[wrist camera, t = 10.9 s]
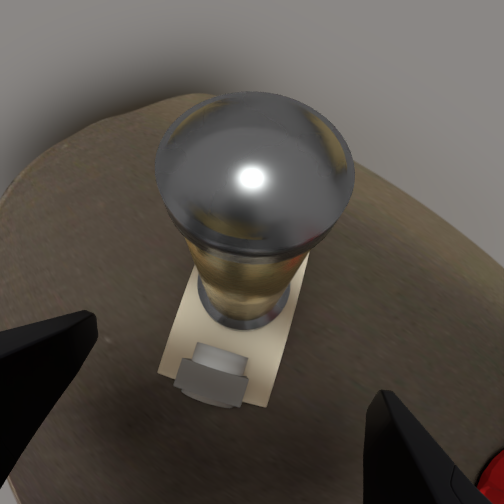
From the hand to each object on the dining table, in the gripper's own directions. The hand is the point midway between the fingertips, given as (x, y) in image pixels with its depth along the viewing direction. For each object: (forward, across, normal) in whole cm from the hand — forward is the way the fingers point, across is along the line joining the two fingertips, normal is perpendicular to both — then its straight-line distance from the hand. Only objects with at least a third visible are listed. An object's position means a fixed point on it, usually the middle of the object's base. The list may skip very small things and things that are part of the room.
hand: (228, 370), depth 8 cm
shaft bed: (+11, +1, +3) cm, 12 cm away
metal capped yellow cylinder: (+11, +1, +3) cm, 11 cm away
